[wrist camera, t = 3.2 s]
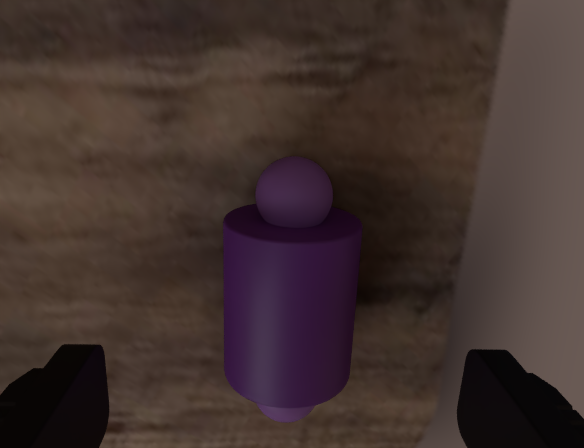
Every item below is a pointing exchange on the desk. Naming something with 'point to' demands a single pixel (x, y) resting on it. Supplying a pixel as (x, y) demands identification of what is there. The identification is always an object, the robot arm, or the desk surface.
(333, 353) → the candy
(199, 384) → the desk surface
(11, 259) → the desk surface
